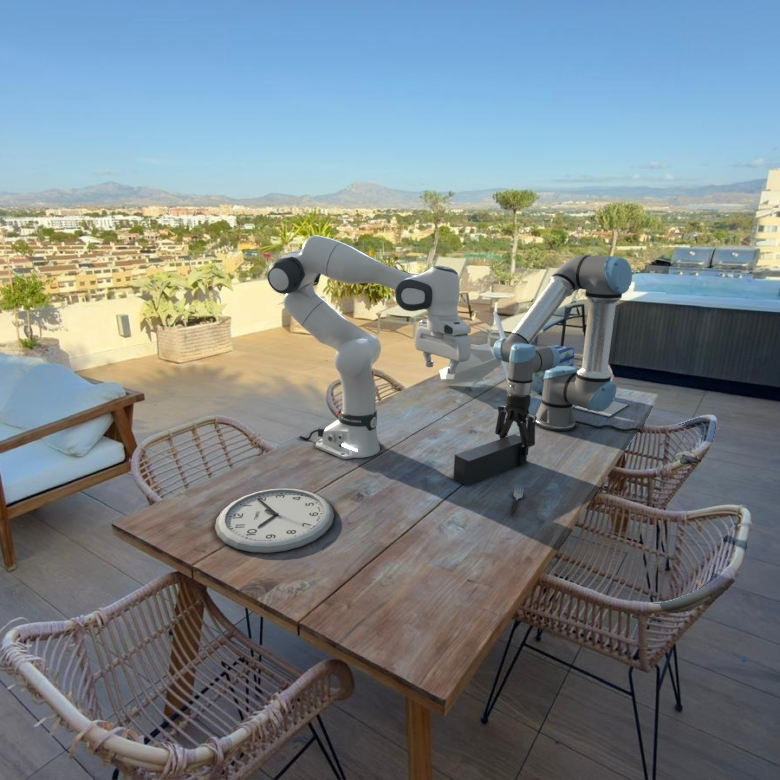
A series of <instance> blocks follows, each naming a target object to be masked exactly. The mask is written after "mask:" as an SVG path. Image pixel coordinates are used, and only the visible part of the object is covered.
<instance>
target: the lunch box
mask: <svg viewBox="0 0 780 780" xmlns="http://www.w3.org/2000/svg"><path fill="white" fill-rule="evenodd" d="M552 346H553V347H555V348H556V349H557V350H558V351H559V354H560V362H559V364H558V365H557V366H571V367H574V363H575V348H573V347H571V346H570V347H568V346H563V345H552ZM545 371H546V370H545ZM545 371H540V372H536V373H533V379H532V391H531V392H536V393H540V394H542V391H543V382H544V379H543V378H544V375H545Z"/></svg>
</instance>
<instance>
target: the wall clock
mask: <svg viewBox="0 0 780 780" xmlns="http://www.w3.org/2000/svg"><path fill="white" fill-rule="evenodd" d="M334 518H335V514H334V509H333V507H332V506H331V504H330V503H329V502H328V501H327V499H325V498H323V497H321V496H320V495H318V494H316V493H313V492H311V491H307V490H304V489H296V488H270V489H265V490H260V491H256V492H252V493H250V494H246V495H244V496H242V497H240V498H238V499H236V500H234V501H232V502H231V503H229V504H228V505H227V506H226V507H224V508H223V509H222V510H221V511H220V513H219V515H218V516H217V518H216V520H215V525H214V529H215V532H216V535H217V538H218V539H220V540H221V541H222V542H223V543H224V544H226V545H228V546H230V547H232V548H234V549H236V550H240V551H245V552H248V553H249V552H250V553H261V554H262V553H265V554H270V553H277V552H287V551H290V550H293V549H298V548H301V547H304V546H306V545H308V544H311V543H312V542H314V541H316V540H317V539H319V538H321V537H322V536H323V535H325V534H326V532H327V531H328V530H329V529H330V528H331V526H332V525H333V522H334Z"/></svg>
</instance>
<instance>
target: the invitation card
mask: <svg viewBox="0 0 780 780" xmlns="http://www.w3.org/2000/svg"><path fill="white" fill-rule="evenodd" d="M628 406H629V404H627V403H623V402H618V401H614V400H613V401H612V403H611V404H610V406H609V407H608V408H607V409H605V410H604V411H601V412H597V411H593V410H588V409H586V408H583V407H580V406H576V405H575V406H574V407H573V409H575V410H581V411H584V412H587V413H593V414H596V415H600V416H604V417H608V418H609V417H611V416H613V415H614V414H616V413H617V412H619V411H621V410H623V409H624V408H626V407H628Z"/></svg>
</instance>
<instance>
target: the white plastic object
mask: <svg viewBox="0 0 780 780" xmlns="http://www.w3.org/2000/svg"><path fill="white" fill-rule="evenodd" d="M492 315H493V319H494V321H495V324H496V325H495V326H496V328H497V332H498V335H499V339H501V338H506V339H507V337H506V334H505V331H504V328H503V325H502V321H501V318H500V315H499V314H498V312H497V311H496V310H495V311H492ZM450 362H451V359H449V362H448V366H446V367H444V368H442V369H440V370H439V371H438V372H439V376H440V381H442V383H443V384H444V385H445V386H449V385H458V384H467V383H468V384H469V383H473V384H477V383H480V382H482V381H484V378H485V377H486V376H487V375H489V374H490V373H492V372H494V371H495V370H496V369H497V368H499V367H500V366H502V370H503V373H504V376H505V380H506V383H508V374H509V364H508V362H504V361H502V360H499V359H497V358H496V357H495V356H494V354H493V347H491V346H490V344H489V343H488V342H487V343H483V344H479V345H473V346H471V351H470V358H469V359H468V360H467V361H463V362H459V364H458V365H457V367H456V369H455V374H449V373H448V368H449V367H450V366H451V364H452V363H450Z"/></svg>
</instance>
